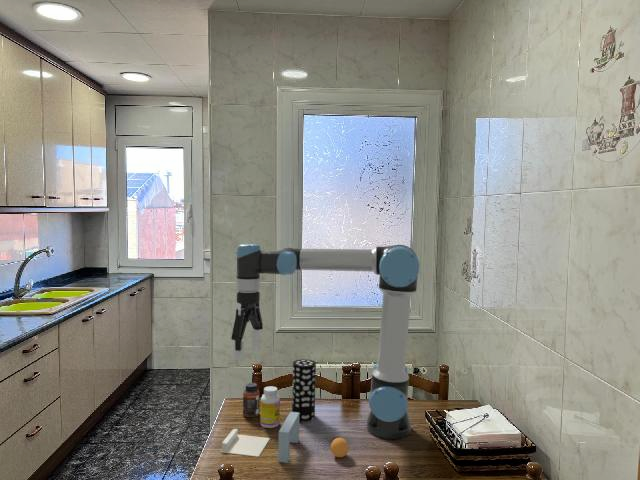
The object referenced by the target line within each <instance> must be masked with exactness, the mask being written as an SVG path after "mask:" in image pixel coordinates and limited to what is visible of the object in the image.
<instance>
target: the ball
mask: <svg viewBox="0 0 640 480" xmlns="http://www.w3.org/2000/svg"><path fill="white" fill-rule="evenodd" d="M349 448H350V445H349V443H348V441H347V440H346V439H344V438H343V437H336V438H335V439H333V440H332V442H331V444H330V452H331V454H332V455H333V456H335V457H336V458H344V457H345V456H347V454H349Z"/></svg>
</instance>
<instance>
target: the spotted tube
mask: <svg viewBox="0 0 640 480" xmlns="http://www.w3.org/2000/svg"><path fill="white" fill-rule="evenodd" d="M316 367H317V363H316V361H315V360H312V359H304V358H301V359H296V360H294V361H293V362H292V389H291V391H292V400H291V401H292V402H291V403H292V404H291V412H298V413H299V422H309V421H313V420H314V419H315V417H316V416H315V415H316V379H317V378H316V376H317V375H316V371H317V369H316Z"/></svg>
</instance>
